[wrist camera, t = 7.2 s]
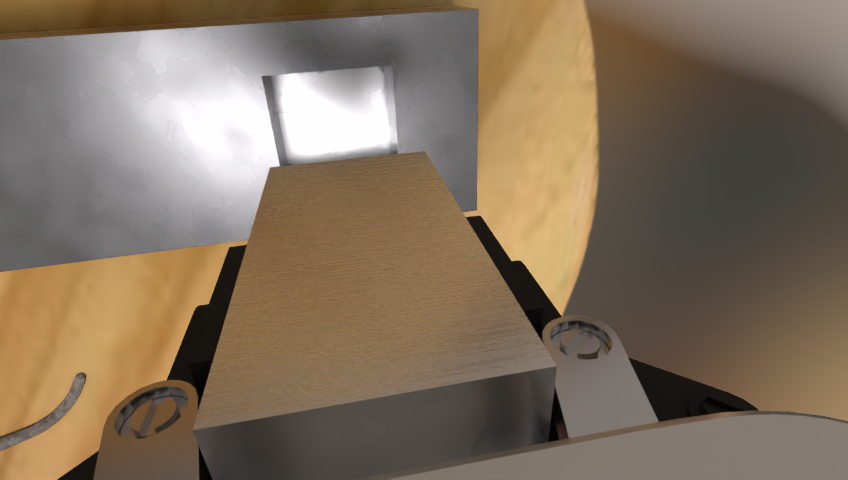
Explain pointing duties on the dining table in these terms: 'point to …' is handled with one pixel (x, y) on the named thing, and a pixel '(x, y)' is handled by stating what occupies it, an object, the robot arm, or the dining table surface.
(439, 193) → the steel peg
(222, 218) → the rectangular block
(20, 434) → the pliers
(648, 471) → the robot arm
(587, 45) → the dining table surface
